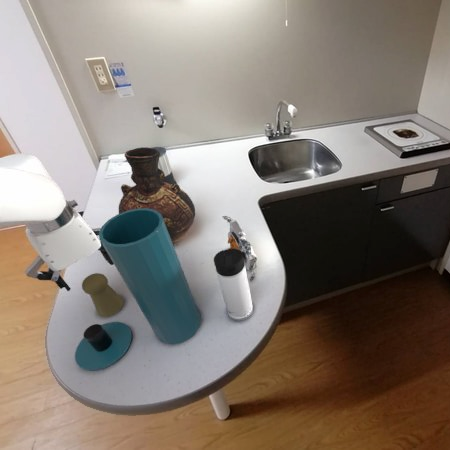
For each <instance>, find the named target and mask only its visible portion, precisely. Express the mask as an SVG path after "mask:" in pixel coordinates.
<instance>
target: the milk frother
mask: <svg viewBox="0 0 450 450" xmlns="http://www.w3.org/2000/svg"><path fill="white" fill-rule="evenodd" d="M151 148H152V149H156V150H158V151H159V152H160V157H159V162H158V168H159V169H160V170H162V171H163V172H164V174H165V178H164V179H163V181H162V182H165V183H168V184H178V183H177V182H176V180H175V176H174V174H173V170H172V167H171V163H170V161H169V158H168V154H167V148H166V147H162V146H153V147H151ZM130 168H131V167H130ZM132 173H133V169H132V168H131V174H132Z"/></svg>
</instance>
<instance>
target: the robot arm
mask: <svg viewBox="0 0 450 450" xmlns="http://www.w3.org/2000/svg"><path fill="white" fill-rule="evenodd" d="M78 206H79V204H78V202H77V200H75V199H73V200H67V199H66V198H65V194H64V191H63V190H62V188H61V187H60V186H59V184H58V183H57V182H56V181H55V180H53V178H52V177H51V175H50V174H49V172H48V171H47V169H46V167H45V166H44V164H43V162H41V160H40V159H39V158H38V157H37V156H35V155H33V154H31V153H24V152H23V153H22V152H21V153H13V154H8V155H5V156H2V157H0V229H1V228H9V227H16V226H24V225H25V226H26V228H25V230H24V232H25V235H26V237H27V239H28V241H29V244H31V246H32V248H33V250H35V251H36V253H37V255H38V256H36V257H35V259H34V260H33V261H32V262H31V263H30V264H29V265H28V266H27V268H26V269H25V270H24V274H25V276H26V277H28V278H32V279H36V280H38V281H51V282H53V283H55V284H56V285H57V286H58V287H59V289H60V290H62V289H65V290H66V291H67V292H70V291H71V288H72V287H70V285H69V284H68V283H67V282H66V281H65V279H64V278H63V277H62V276H61V272H62V270H64V269H66V268H68V267H70V266H72V265H74V264H76V263H78V262H79V261H81V260H84V259H85V258H86V257H89V256H90V255H92V254H94V253H96V252H97V251H99V252H100V253H101V255H102V257H103V258H104V259H105V261H106V262H107V263H108V264H109V265H110V266H113V265H114V263H113V261H112V260H111V258H110V256H109V255H108V253H107V251H106V250H105V248H104V246H103V245H102V243H101V241H100V239H99V232H100V229H101V227H96V228H92V227H91V226H90V225H89V223H87V221H86V220H85V219H84V218H83V217H82V215H81V214H80V213H79V212H78V211H77V210H76V209H75V208H76V207H78ZM44 264H45V265H46V266H47V270H46V271H45V270H40V268H41V267H42V266H43V265H44Z"/></svg>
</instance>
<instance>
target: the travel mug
mask: <svg viewBox="0 0 450 450" xmlns="http://www.w3.org/2000/svg"><path fill="white" fill-rule="evenodd" d="M213 265H214V267H215V272H216V275H217V276H216V277H217V280H218V282H219V286H220V289H221V294H222V297H223V300H224V304H225V307H226V308H225V309H226V311H227V315H228V317H229V318H230V319H231V320H233V321H236V322H242V321H246V320H248V318H250V316H251V315H252V314H253V311H254V306H253V300H252V295H251V289H250V284H249V279H248V274H247V267H246V266H245V263H244V258H243V254H242V252H241V251H240V250H238V249H228V248H226V249H223V250H220V251H218V252H217V253H216V254H215V255H214V257H213Z"/></svg>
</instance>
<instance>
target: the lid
mask: <svg viewBox="0 0 450 450" xmlns="http://www.w3.org/2000/svg"><path fill="white" fill-rule="evenodd" d="M132 338H133V336H132V331H131V329H130V328H129V326H128V325H127V324H125V323H122V322H120V321H119V322H118V321H111V322H107V323H103V324H99V323H94V324H92V325H89V326H88V327H87V328H86V329H85V330H84V331H83V338H81V340H80V342H79V343H78V345H77V347H76V349H75V354H74V359H75V363H76V364H77V365H78V367H79V368H81V369H83V370H84V371H88V372H89V371H90V372H92V371H93V372H94V371H99V370H103V369H105V368H107V367H110V366H111V365H113V364H115V363H116V362H117V361H119V360H120V359H121V358H122V357H123V356H124V355H125V353H126V352H127V350H128V349H129V347H130V345H131V342H132Z"/></svg>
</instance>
